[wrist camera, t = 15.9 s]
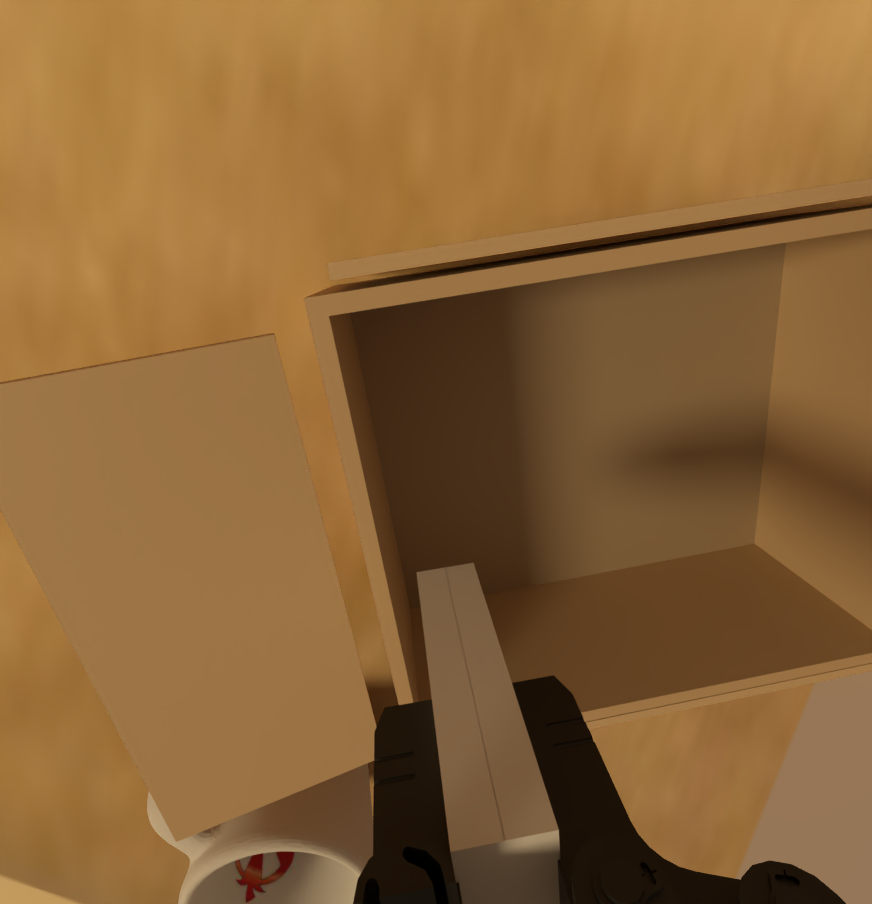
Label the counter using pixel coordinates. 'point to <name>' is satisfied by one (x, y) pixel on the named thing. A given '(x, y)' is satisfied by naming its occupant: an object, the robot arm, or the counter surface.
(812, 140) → the counter surface
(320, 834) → the cup
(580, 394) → the carton
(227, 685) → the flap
